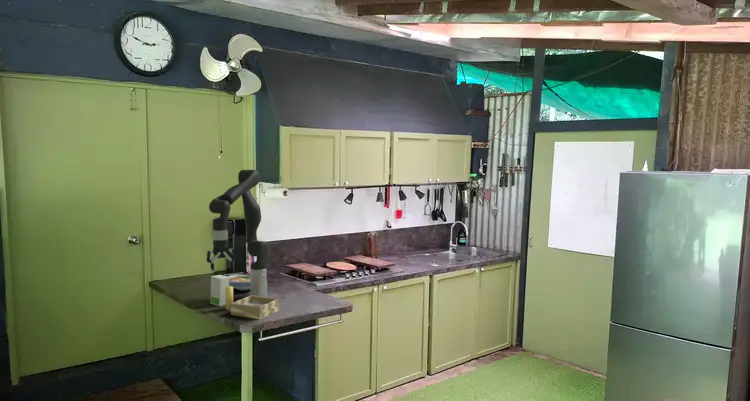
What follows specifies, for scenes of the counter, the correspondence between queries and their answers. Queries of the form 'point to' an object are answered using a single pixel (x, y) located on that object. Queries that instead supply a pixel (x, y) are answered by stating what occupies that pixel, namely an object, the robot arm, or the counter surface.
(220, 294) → the skincare box
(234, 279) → the ramen bowl
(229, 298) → the peg
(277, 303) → the box
